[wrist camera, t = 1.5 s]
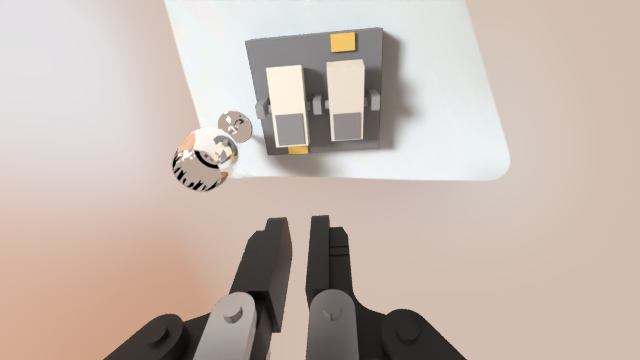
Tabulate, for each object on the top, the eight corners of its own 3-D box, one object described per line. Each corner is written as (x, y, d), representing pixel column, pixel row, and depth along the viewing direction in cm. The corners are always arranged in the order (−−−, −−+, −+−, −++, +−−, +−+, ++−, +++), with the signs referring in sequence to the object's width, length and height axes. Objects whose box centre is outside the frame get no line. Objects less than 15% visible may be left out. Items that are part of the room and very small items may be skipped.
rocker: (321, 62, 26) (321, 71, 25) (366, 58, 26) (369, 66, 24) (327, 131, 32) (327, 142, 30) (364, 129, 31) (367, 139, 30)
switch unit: (251, 39, 30) (235, 43, 25) (377, 27, 29) (388, 29, 24) (272, 146, 37) (263, 168, 31) (375, 139, 36) (383, 160, 31)
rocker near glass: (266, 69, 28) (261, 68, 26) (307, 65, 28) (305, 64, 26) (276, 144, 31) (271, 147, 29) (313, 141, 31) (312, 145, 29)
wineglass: (262, 118, 35) (235, 159, 24) (248, 153, 37) (218, 204, 27) (219, 97, 34) (171, 132, 23) (208, 135, 36) (160, 182, 26)
